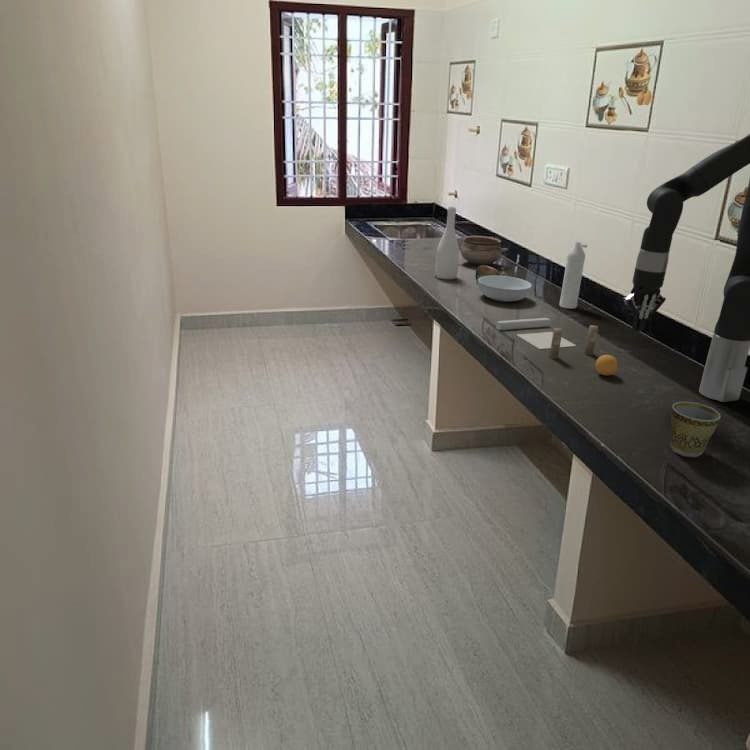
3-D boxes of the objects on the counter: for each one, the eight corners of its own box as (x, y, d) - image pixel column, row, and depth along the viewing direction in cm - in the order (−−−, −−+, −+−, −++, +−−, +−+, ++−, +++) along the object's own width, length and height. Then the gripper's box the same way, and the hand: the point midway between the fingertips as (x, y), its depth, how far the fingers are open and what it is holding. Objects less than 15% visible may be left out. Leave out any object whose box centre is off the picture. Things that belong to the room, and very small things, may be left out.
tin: (473, 282, 288) (476, 262, 284) (480, 281, 289) (482, 262, 286) (493, 291, 275) (496, 271, 272) (500, 291, 276) (502, 270, 273)
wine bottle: (434, 274, 297) (440, 204, 286) (455, 275, 297) (462, 206, 286) (435, 279, 289) (441, 208, 277) (457, 280, 288) (464, 209, 277)
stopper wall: (548, 326, 235) (550, 319, 234) (499, 330, 228) (500, 323, 227) (545, 324, 236) (546, 317, 236) (496, 328, 230) (497, 321, 229)
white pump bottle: (556, 304, 262) (566, 240, 252) (571, 304, 263) (582, 240, 254) (566, 310, 254) (577, 244, 244) (582, 310, 255) (593, 245, 246)
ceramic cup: (694, 465, 147) (705, 424, 143) (653, 446, 154) (663, 407, 150) (725, 450, 154) (736, 411, 150) (684, 433, 161) (694, 395, 158)
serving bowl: (505, 309, 252) (508, 291, 249) (465, 295, 267) (466, 278, 264) (540, 301, 264) (542, 284, 262) (499, 289, 279) (501, 272, 277)
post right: (594, 354, 210) (600, 327, 206) (588, 355, 209) (593, 328, 205) (589, 352, 212) (594, 324, 208) (582, 352, 211) (587, 325, 208)
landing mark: (576, 346, 217) (576, 345, 216) (539, 349, 212) (539, 348, 212) (551, 332, 229) (551, 331, 228) (516, 335, 224) (516, 334, 224)
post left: (559, 358, 205) (564, 330, 202) (552, 359, 204) (557, 330, 201) (554, 355, 207) (559, 327, 204) (547, 356, 207) (552, 328, 203)
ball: (619, 377, 193) (623, 358, 191) (602, 379, 191) (606, 360, 188) (606, 370, 198) (610, 351, 196) (589, 371, 196) (593, 352, 194)
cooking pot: (502, 262, 327) (505, 237, 322) (508, 271, 309) (511, 245, 305) (451, 259, 327) (453, 234, 323) (454, 268, 310) (456, 241, 305)
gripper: (640, 271, 168) (626, 337, 175) (681, 270, 173) (666, 333, 179) (620, 264, 175) (608, 328, 181) (660, 263, 179) (647, 325, 186)
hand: (637, 330), depth 180 cm, fingers closed
